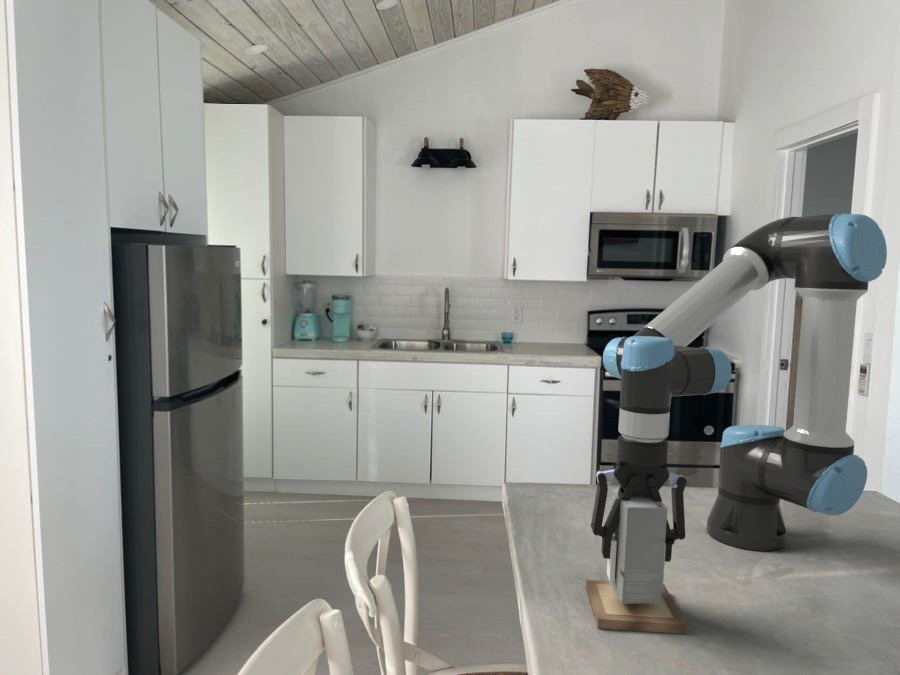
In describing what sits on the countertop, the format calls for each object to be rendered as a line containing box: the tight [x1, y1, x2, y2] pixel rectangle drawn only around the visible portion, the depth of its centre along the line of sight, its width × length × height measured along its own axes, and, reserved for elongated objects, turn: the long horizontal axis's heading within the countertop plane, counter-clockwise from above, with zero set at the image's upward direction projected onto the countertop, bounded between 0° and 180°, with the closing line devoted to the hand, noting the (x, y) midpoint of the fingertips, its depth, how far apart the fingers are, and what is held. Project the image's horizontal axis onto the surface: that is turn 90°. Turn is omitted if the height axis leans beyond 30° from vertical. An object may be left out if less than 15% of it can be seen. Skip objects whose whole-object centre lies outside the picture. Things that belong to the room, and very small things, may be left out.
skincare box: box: [606, 488, 668, 604], centre depth 107 cm, size 8×7×16 cm
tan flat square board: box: [585, 579, 687, 635], centre depth 108 cm, size 13×13×2 cm
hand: (634, 578), depth 108 cm, fingers closed on skincare box, 7 cm apart
